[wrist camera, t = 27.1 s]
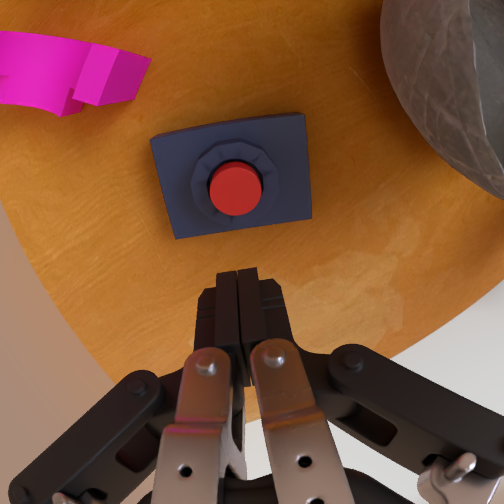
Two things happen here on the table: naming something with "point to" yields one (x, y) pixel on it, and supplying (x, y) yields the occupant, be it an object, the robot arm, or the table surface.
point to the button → (235, 188)
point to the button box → (229, 150)
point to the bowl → (451, 79)
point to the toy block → (65, 73)
